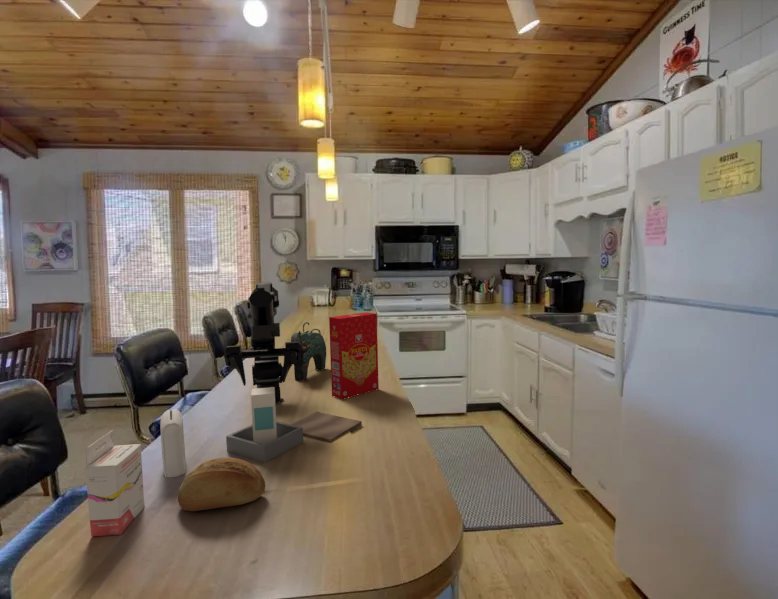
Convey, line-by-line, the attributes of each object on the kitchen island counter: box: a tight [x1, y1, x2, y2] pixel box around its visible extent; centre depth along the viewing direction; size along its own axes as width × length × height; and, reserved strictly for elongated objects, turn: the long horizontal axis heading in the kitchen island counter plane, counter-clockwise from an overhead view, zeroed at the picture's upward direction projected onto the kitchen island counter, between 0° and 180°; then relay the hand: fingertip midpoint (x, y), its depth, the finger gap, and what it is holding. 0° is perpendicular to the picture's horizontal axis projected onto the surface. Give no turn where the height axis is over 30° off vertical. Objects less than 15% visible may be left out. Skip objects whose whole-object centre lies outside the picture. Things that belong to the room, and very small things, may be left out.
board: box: [289, 411, 363, 443], centre depth 113 cm, size 15×13×1 cm
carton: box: [250, 387, 277, 445], centre depth 102 cm, size 5×5×13 cm
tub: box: [225, 420, 304, 463], centre depth 102 cm, size 12×12×4 cm
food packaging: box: [328, 311, 380, 400], centre depth 141 cm, size 15×5×25 cm, turn 131°
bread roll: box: [177, 457, 266, 512], centre depth 80 cm, size 10×15×8 cm, turn 103°
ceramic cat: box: [290, 321, 327, 381], centre depth 165 cm, size 20×6×20 cm, turn 160°
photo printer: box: [159, 408, 187, 478], centre depth 93 cm, size 10×4×12 cm, turn 26°
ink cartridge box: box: [84, 429, 145, 537], centre depth 75 cm, size 9×5×15 cm, turn 5°
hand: (264, 383), depth 109 cm, fingers open, 9 cm apart
